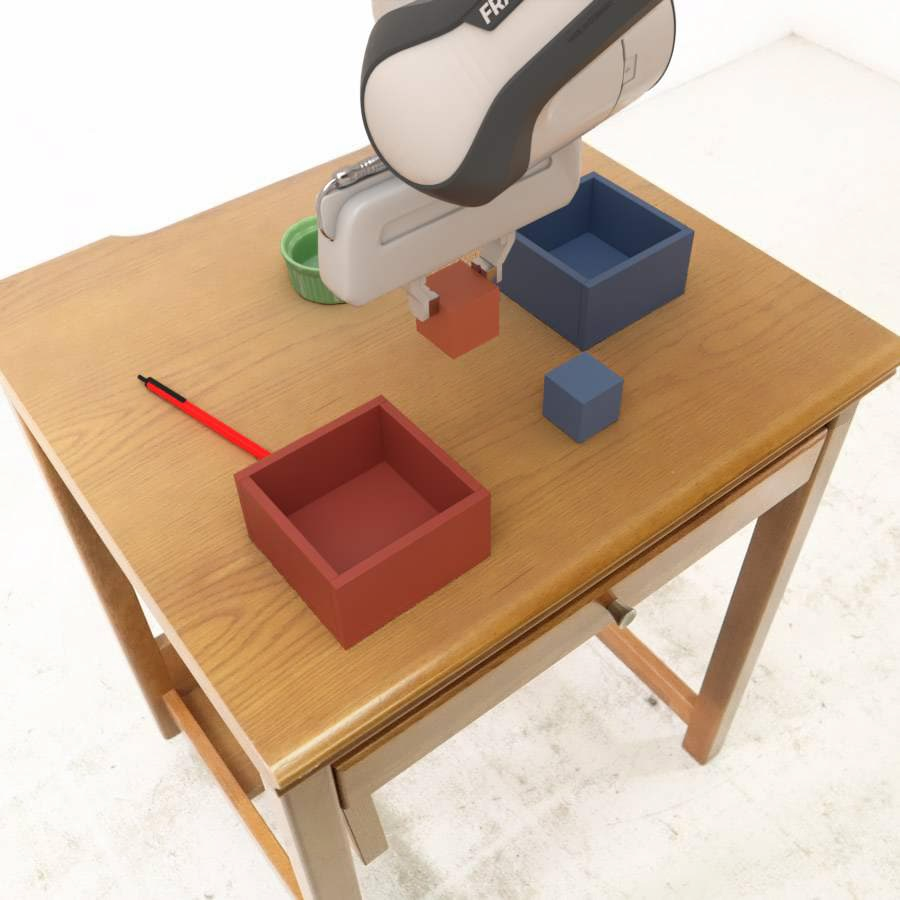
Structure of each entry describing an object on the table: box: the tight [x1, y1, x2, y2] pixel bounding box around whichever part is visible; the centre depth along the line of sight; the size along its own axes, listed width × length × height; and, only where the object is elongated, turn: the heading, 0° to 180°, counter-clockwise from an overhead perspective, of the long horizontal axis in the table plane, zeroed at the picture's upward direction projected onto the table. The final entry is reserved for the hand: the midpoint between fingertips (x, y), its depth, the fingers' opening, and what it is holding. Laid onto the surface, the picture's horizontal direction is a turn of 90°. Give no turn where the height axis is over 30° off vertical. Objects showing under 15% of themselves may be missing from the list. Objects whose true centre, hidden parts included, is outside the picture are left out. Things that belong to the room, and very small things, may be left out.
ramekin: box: [279, 214, 346, 305], centre depth 98 cm, size 9×9×4 cm
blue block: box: [541, 350, 625, 444], centre depth 84 cm, size 4×4×4 cm
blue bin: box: [495, 170, 696, 352], centre depth 95 cm, size 13×13×7 cm
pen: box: [136, 374, 273, 460], centre depth 85 cm, size 1×19×1 cm, turn 51°
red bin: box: [233, 394, 492, 651], centre depth 75 cm, size 13×13×7 cm
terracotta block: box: [415, 259, 500, 361], centre depth 77 cm, size 4×4×4 cm
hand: (456, 297), depth 77 cm, fingers closed on terracotta block, 4 cm apart
